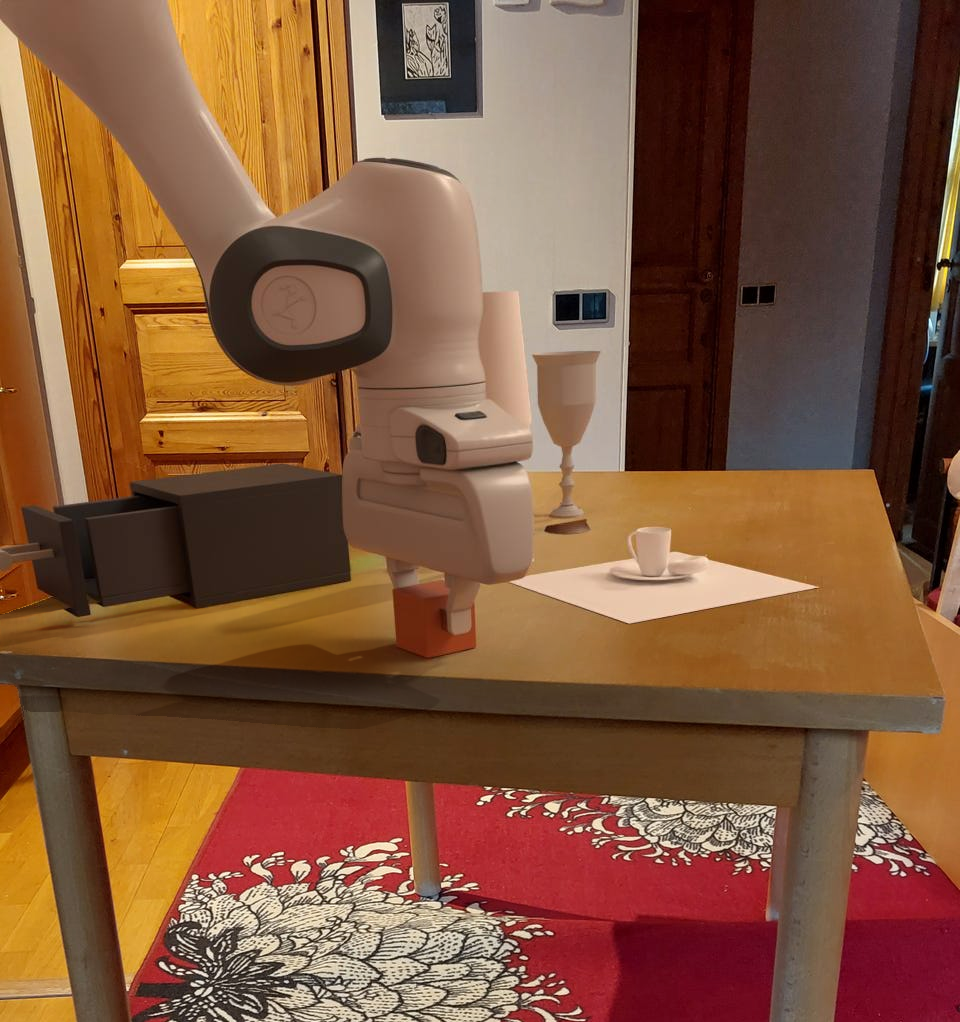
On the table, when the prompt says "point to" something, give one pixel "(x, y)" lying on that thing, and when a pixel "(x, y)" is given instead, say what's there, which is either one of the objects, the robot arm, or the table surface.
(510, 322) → the champagne flute
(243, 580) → the drawer cabinet
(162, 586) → the dark grey drawer
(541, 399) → the chalice
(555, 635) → the table surface
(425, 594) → the block
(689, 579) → the teacup and saucer
